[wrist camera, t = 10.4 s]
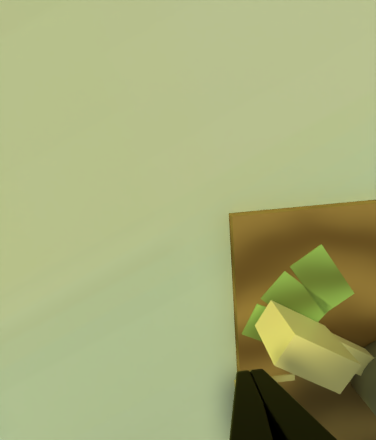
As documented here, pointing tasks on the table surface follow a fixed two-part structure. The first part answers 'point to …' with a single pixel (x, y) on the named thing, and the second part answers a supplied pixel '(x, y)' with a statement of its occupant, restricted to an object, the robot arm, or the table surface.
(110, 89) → the table surface
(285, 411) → the robot arm
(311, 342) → the peg lever
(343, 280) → the brown flat wooden board
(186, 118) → the table surface
